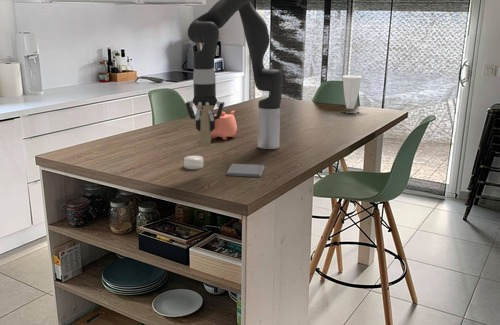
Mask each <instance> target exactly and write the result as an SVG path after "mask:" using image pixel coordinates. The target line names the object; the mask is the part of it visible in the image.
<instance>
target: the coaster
mask: <svg viewBox="0 0 500 325" xmlns="http://www.w3.org/2000/svg"><path fill="white" fill-rule="evenodd" d="M264 169H265V164H262V165H261V164H247V163H232V164H231V165H230V166H229V168H228V170H227V171H226V172H225V174H226V176H228V177H229V176H233V177H249V178H250V177H251V178H252V177H253V178H254V177H255V178H261V177H262V174H263V172H264Z"/></svg>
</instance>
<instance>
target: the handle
mask: <svg viewBox="0 0 500 325" xmlns="http://www.w3.org/2000/svg"><path fill="white" fill-rule="evenodd" d="M197 108H198V109H199V110H201V111H200V113H201V117H200V131H199V137H200V142H201V143H200V145H201V147H203V148H210V147H211V144H212V136H211V131H210V121H211V120H210V115H209V113H208V110H214V109H215V106H214V107H213V105H210V106H206V105H202V106H198V105H196V106H195V109H197Z"/></svg>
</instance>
